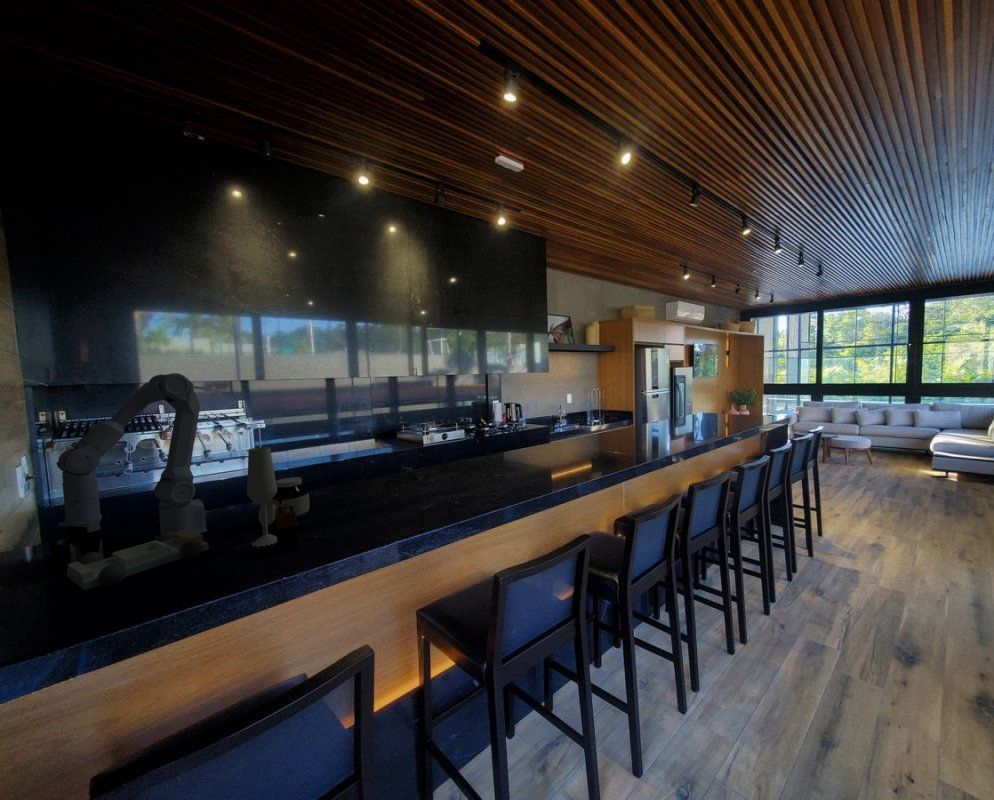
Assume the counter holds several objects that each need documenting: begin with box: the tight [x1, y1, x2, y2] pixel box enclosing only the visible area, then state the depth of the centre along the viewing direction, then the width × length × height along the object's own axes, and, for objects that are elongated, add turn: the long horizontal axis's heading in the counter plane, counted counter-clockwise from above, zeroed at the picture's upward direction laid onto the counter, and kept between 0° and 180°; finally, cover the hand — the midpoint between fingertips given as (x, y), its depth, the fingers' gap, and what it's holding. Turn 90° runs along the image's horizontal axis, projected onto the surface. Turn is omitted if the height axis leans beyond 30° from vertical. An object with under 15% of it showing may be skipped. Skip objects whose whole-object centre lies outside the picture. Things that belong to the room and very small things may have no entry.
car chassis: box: [66, 529, 210, 591], centre depth 94 cm, size 22×15×4 cm
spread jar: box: [258, 476, 310, 526], centre depth 121 cm, size 12×11×12 cm
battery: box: [275, 503, 299, 553], centre depth 102 cm, size 4×7×10 cm, turn 30°
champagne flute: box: [246, 446, 277, 548], centre depth 105 cm, size 7×7×24 cm
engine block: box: [69, 539, 104, 563], centre depth 97 cm, size 4×4×6 cm
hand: (87, 556), depth 97 cm, fingers closed on engine block, 4 cm apart
